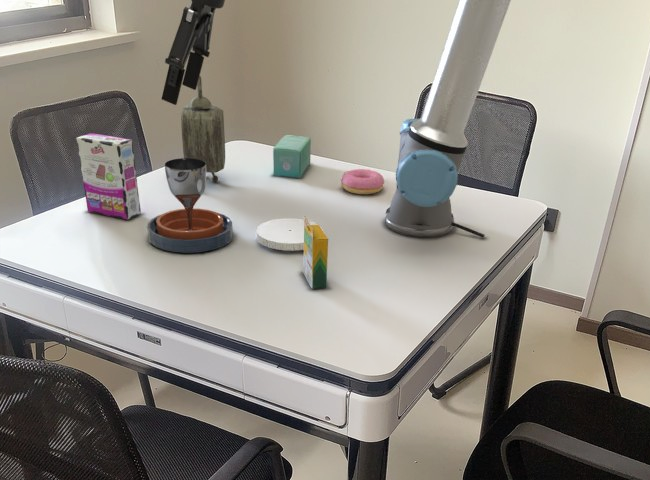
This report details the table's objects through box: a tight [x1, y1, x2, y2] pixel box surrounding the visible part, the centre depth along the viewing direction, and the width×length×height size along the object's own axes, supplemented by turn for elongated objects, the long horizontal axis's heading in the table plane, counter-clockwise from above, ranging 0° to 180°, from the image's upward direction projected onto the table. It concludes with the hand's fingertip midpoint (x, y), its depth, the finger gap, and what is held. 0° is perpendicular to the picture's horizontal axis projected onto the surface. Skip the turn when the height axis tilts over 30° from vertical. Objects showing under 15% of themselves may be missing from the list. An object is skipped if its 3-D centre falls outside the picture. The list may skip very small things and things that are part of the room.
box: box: [272, 134, 312, 179], centre depth 192 cm, size 7×14×8 cm, turn 172°
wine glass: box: [164, 157, 207, 231], centre depth 147 cm, size 8×8×15 cm
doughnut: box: [340, 168, 385, 195], centre depth 182 cm, size 11×11×4 cm
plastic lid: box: [255, 217, 325, 252], centre depth 152 cm, size 14×14×2 cm
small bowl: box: [156, 208, 224, 239], centre depth 151 cm, size 13×13×4 cm
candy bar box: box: [75, 133, 142, 221], centre depth 157 cm, size 11×5×16 cm, turn 68°
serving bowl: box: [146, 212, 234, 254], centre depth 151 cm, size 17×17×3 cm
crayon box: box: [302, 216, 329, 290], centre depth 134 cm, size 7×3×12 cm, turn 17°
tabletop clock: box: [180, 75, 226, 183], centre depth 176 cm, size 14×9×25 cm, turn 6°
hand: (179, 94), depth 140 cm, fingers open, 13 cm apart
